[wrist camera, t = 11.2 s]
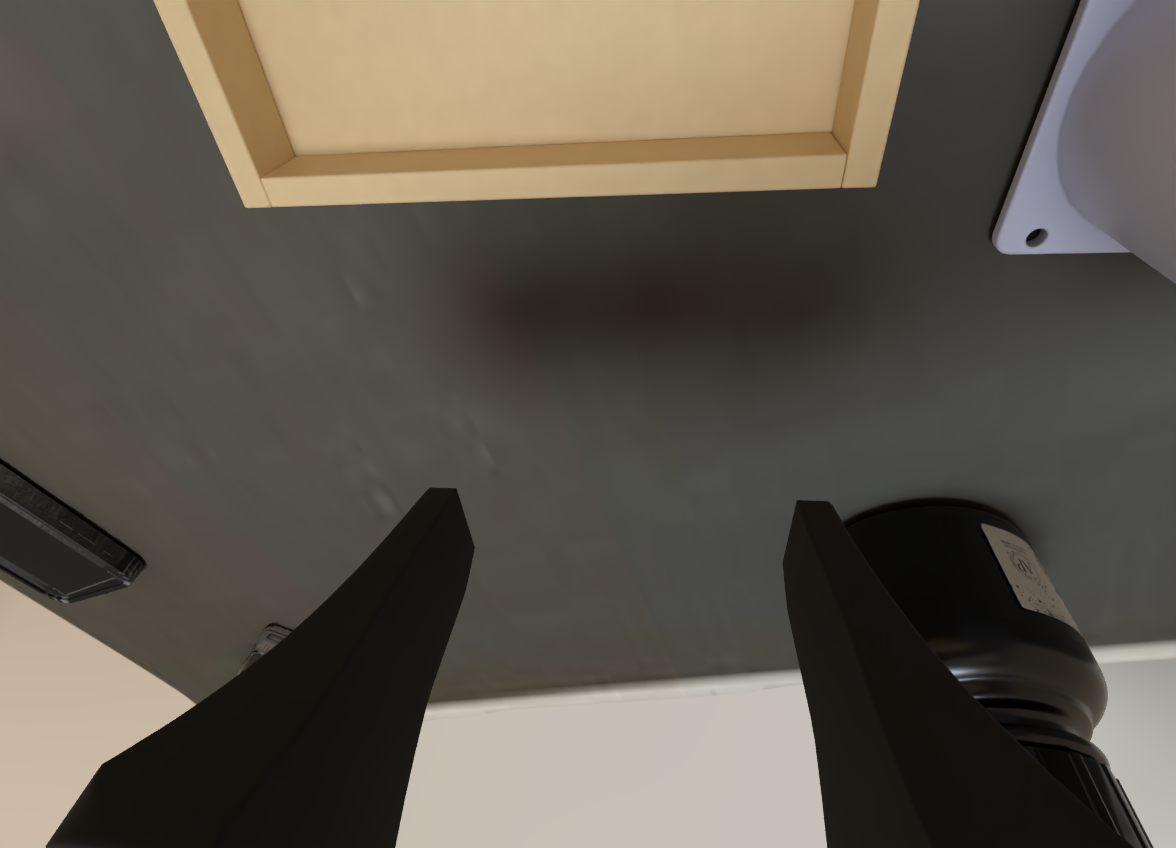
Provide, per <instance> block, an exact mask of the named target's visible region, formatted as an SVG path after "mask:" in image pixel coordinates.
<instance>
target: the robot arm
mask: <svg viewBox="0 0 1176 848" xmlns="http://www.w3.org/2000/svg"><path fill="white" fill-rule="evenodd" d="M1040 228H1041V232H1040V234H1039V235H1038V236H1037V237H1036V238H1034V239H1033V240H1030V241H1026V238H1027V236H1028V235H1029V233H1031V232H1032V231H1034V230H1036V229H1040ZM992 243H993V245H994V246H995V247H996V248H997V249H998V250H999V251H1000V252H1001V253H1003V254H1009V255H1014V254H1068V253H1123V252H1132V253H1133V254H1135V255H1136V256H1137V257H1139V258H1140V259H1141V260H1143V261H1144V262H1146V263H1147V264H1148V265H1150V266H1151V267H1152V268H1154V269H1155V270H1157V271H1158V272H1159V273H1161V274H1162V275H1164V276H1165V277H1166V278H1168V279H1169V280H1170V281H1172V282H1173V283H1175V284H1176V0H1081V1H1080V4H1079V7H1078V9H1077V12H1076V14H1075V17H1074V20H1073V22H1072V25H1071V28H1070V30H1069V33H1068V36H1067V38H1066V41H1065V44H1064V46H1063V49H1062V52H1061V54H1060V57H1059V59H1058V62H1057V65H1056V67H1055V70H1054V73H1053V75H1052V78H1051V81H1050V83H1049V86H1048V89H1047V91H1046V94H1045V97H1044V99H1043V102H1042V104H1041V107H1040V110H1039V112H1038V115H1037V118H1036V120H1035V123H1034V126H1033V128H1032V131H1031V134H1030V136H1029V139H1028V142H1027V144H1026V147H1025V149H1024V152H1023V155H1022V157H1021V160H1020V163H1019V165H1018V168H1017V171H1016V173H1015V176H1014V179H1013V181H1012V184H1011V186H1010V189H1009V192H1008V194H1007V197H1006V200H1005V202H1004V205H1003V208H1002V210H1001V213H1000V216H999V218H998V221H997V224H996V226H995V229H994V231H993V235H992ZM474 548H475V547H474V544H473V541H472V537H471V534H470V531H469V528H468V524H467V521H466V518H465V515H464V512H463V508H462V505H461V502H460V499H459V495H458V492H457V489H456V488H429V489H428V490H427V491H426V492H425V493H424V494H423V496H422V497H421V498H420V499H419V500H418V501H417V502H416V504H415V505H414V506H413V507H412V508H411V509H410V511H409V512H408V513H407V514H406V515H405V516H404V518H403V519H402V520H401V521H400V522H399V523H398V525H397V526H396V527H395V528H394V529H393V530H392V531H391V533H390V534H389V535H388V536H387V537H386V538H385V539H384V540H383V542H382V543H381V544H380V545H379V546H378V547H377V548H376V549H375V550H374V551H373V553H372V554H371V555H370V556H369V557H368V558H367V559H366V560H365V561H364V562H363V563H362V565H361V566H360V567H359V568H358V569H357V570H356V571H355V572H354V573H353V574H352V575H351V576H350V577H349V578H348V579H347V580H346V581H345V582H344V583H343V584H342V585H341V586H340V587H339V588H338V589H337V590H336V591H335V592H334V593H333V594H332V595H331V596H330V597H329V598H328V599H327V600H326V601H325V602H324V603H323V604H322V605H321V606H320V607H319V608H318V609H317V610H315V611H314V612H313V613H312V614H311V615H310V616H309V617H308V618H307V619H306V620H305V621H303V622H302V623H301V624H300V625H299V626H298V627H297V628H295V629H294V630H293V631H292V632H291V633H290V634H289V635H287V636H286V637H285V638H284V639H283V640H282V641H280V642H279V643H278V644H277V645H275V646H274V647H273V648H272V649H271V650H269V651H268V652H267V653H266V654H264V655H263V656H262V657H261V658H259V659H258V660H257V661H255V662H254V663H253V664H252V665H250V666H249V667H248V668H246V669H245V670H244V671H243V672H241V673H240V674H239V675H238V676H236V677H235V678H234V679H232V680H231V681H229V682H228V683H227V684H225V685H224V686H222V687H221V688H220V689H218V690H217V691H215V692H214V693H213V694H211V695H210V696H208V697H207V698H206V699H204V700H203V701H201V702H200V703H198V704H197V705H195V706H194V707H193V708H191V709H190V710H188V711H187V712H185V713H184V714H182V715H181V716H179V717H178V718H176V719H175V720H173V721H172V722H170V723H169V724H167V725H165V726H164V727H162V728H161V729H160V730H158V731H156V732H154V733H153V734H151V735H149V736H148V737H146V738H145V739H143V740H141V741H140V742H138V743H136V744H135V745H133V746H132V747H130V748H128V749H127V750H125V751H124V752H122V753H120V754H119V755H117V756H115V757H114V758H112V759H110V760H109V761H107V762H105V763H103V764H102V765H101V767H100V768H99V770H98V771H97V772H96V774H95V775H94V776H93V778H92V779H91V781H90V782H89V784H88V785H87V787H86V788H85V790H84V791H83V792H82V794H81V795H80V797H79V798H78V800H77V801H76V803H75V805H74V806H73V807H72V809H71V810H70V811H69V813H68V814H67V816H66V817H65V819H64V820H63V822H62V823H61V825H60V826H59V827H58V829H57V830H56V832H55V833H54V835H53V836H52V838H51V839H50V841H49V842H48V844H47V845H46V848H395V846H396V840H397V836H398V830H399V826H400V820H401V816H402V811H403V805H404V801H405V795H406V791H407V787H408V782H409V778H410V773H411V769H412V764H413V760H414V755H415V750H416V747H417V743H418V738H419V734H420V730H421V726H422V722H423V718H424V714H425V710H426V706H427V703H428V699H429V696H430V693H431V690H432V686H433V683H434V680H435V678H436V675H437V672H438V669H439V666H440V663H441V660H442V658H443V655H444V652H445V649H446V646H447V643H448V640H449V638H450V635H451V632H452V629H453V626H454V623H455V620H456V617H457V615H458V612H459V609H460V606H461V603H462V600H463V597H464V594H465V591H466V586H467V582H468V578H469V573H470V568H471V563H472V558H473V553H474ZM783 570H784V581H785V592H786V601H787V610H788V615H789V620H790V624H791V629H792V634H793V638H794V643H795V648H796V652H797V657H798V661H799V666H800V670H801V675H802V679H803V684H804V688H805V693H806V697H807V702H808V707H809V711H810V716H811V721H812V727H813V732H814V738H815V744H816V753H817V761H818V769H819V778H820V786H821V794H822V802H823V812H824V821H825V831H826V840H827V848H1135V847H1133V846H1132V845H1131V844H1130V843H1128V842H1127V841H1126V840H1125V839H1124V838H1122V837H1121V836H1120V835H1119V834H1118V833H1116V832H1115V831H1114V830H1113V829H1112V828H1111V827H1109V826H1108V825H1107V824H1106V823H1105V822H1104V821H1103V820H1101V819H1100V818H1099V817H1098V816H1097V815H1096V814H1094V813H1093V812H1092V811H1091V810H1090V809H1089V808H1088V807H1087V806H1085V805H1084V804H1083V803H1082V802H1081V801H1080V800H1079V799H1078V798H1077V797H1076V796H1074V795H1073V794H1072V793H1071V792H1070V791H1069V790H1068V789H1067V788H1066V787H1065V786H1063V785H1062V784H1061V783H1060V782H1059V781H1058V780H1057V779H1056V778H1055V777H1053V776H1052V775H1051V774H1050V773H1049V772H1048V771H1047V770H1046V769H1045V768H1044V767H1043V766H1042V765H1041V764H1040V763H1039V762H1038V761H1037V760H1036V759H1035V758H1034V757H1033V756H1032V755H1031V754H1030V753H1029V752H1028V751H1027V750H1026V749H1025V748H1024V747H1023V746H1022V745H1021V744H1020V743H1019V742H1017V741H1016V740H1015V739H1014V738H1013V737H1012V736H1011V735H1010V734H1009V733H1008V732H1007V731H1006V730H1005V729H1004V728H1003V727H1002V726H1001V725H1000V724H999V723H998V722H997V721H996V720H995V719H994V718H993V717H992V716H991V715H990V714H989V713H988V711H987V710H986V709H985V708H984V707H983V706H982V705H981V704H980V703H979V702H978V701H977V700H976V699H975V698H974V697H973V695H972V694H971V693H970V692H969V691H968V690H967V689H966V688H965V687H964V686H963V685H962V683H961V682H960V681H959V680H958V679H957V678H956V677H955V676H954V674H953V673H952V672H951V671H950V670H949V669H948V668H947V666H946V665H945V664H944V663H943V662H942V661H941V659H940V658H939V657H938V656H937V655H936V653H935V652H934V651H933V650H932V649H931V647H930V646H929V645H928V644H927V643H926V641H925V640H924V639H923V638H922V636H921V635H920V634H919V632H918V631H917V630H916V629H915V627H914V626H913V625H912V624H911V622H910V621H909V620H908V618H907V617H906V616H905V614H904V613H903V612H902V610H901V609H900V608H899V606H898V605H897V604H896V602H895V601H894V600H893V598H892V597H891V595H890V594H889V593H888V591H887V590H886V588H885V587H884V585H883V584H882V583H881V581H880V580H879V578H878V577H877V576H876V574H875V573H874V571H873V570H872V568H871V567H870V565H869V564H868V562H867V561H866V559H865V558H864V556H863V555H862V553H861V552H860V550H859V548H858V547H857V545H856V544H855V542H854V541H853V539H852V537H851V536H850V534H849V533H848V531H847V529H846V528H845V526H844V524H843V523H842V521H841V519H840V517H839V516H838V514H837V512H836V510H835V509H834V507H833V505H832V504H831V503H829V502H828V501H802V500H797V502H796V507H795V511H794V515H793V520H792V524H791V529H790V533H789V537H788V542H787V546H786V551H785V555H784V559H783Z"/></svg>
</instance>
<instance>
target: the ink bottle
mask: <svg viewBox="0 0 1176 848" xmlns="http://www.w3.org/2000/svg"><path fill="white" fill-rule="evenodd" d="M846 529H847V531H848V533H849V534H850V536H851V537H852V539H853V541H854V542H855V544H856V545H857V547H858V548H859V550H860V552H861V553H862V555H863V556H864V558H865V559H866V561H867V562H868V564H869V565H870V567H871V568H872V570H873V571H874V573H875V574H876V576H877V577H878V578H879V580H880V581H881V583H882V584H883V585H884V587H885V588H886V590H887V591H888V593H889V594H890V595H891V597H892V598H893V600H894V601H895V602H896V604H897V605H898V606H899V608H900V609H901V610H902V612H903V613H904V614H905V616H906V617H907V618H908V620H909V621H910V622H911V624H912V625H913V626H914V627H915V629H916V630H917V631H918V632H919V634H920V635H921V636H922V638H923V639H924V640H925V641H926V643H927V644H928V645H929V646H930V647H931V649H932V650H933V651H934V652H935V653H936V655H937V656H938V657H939V658H940V659H941V661H942V662H943V663H944V664H945V665H946V666H947V668H948V669H949V670H950V671H951V672H952V673H953V674H954V676H955V677H956V678H957V679H958V680H959V681H960V682H961V683H962V685H963V686H964V687H965V688H966V689H967V690H968V691H969V692H970V693H971V694H972V695H973V697H974V698H975V699H976V700H977V701H978V702H979V703H980V704H981V705H982V706H983V707H984V708H985V709H986V710H987V711H988V713H989V714H990V715H991V716H992V717H993V718H994V719H995V720H996V721H997V722H998V723H999V724H1000V725H1001V726H1002V727H1003V728H1004V729H1005V730H1006V731H1007V732H1008V733H1009V734H1010V735H1011V736H1012V737H1013V738H1014V739H1015V740H1016V741H1017V742H1019V743H1020V744H1021V745H1022V746H1023V747H1024V748H1025V749H1026V750H1027V751H1028V752H1029V753H1030V754H1031V755H1032V756H1033V757H1034V758H1035V759H1036V760H1037V761H1038V762H1039V763H1040V764H1041V765H1042V766H1043V767H1044V768H1045V769H1046V770H1047V771H1048V772H1049V773H1050V774H1051V775H1052V776H1053V777H1055V778H1056V779H1057V780H1058V781H1059V782H1060V783H1061V784H1062V785H1063V786H1065V787H1066V788H1067V789H1068V790H1069V791H1070V792H1071V793H1072V794H1073V795H1074V796H1076V797H1077V798H1078V799H1079V800H1080V801H1081V802H1082V803H1083V804H1084V805H1085V806H1087V807H1088V808H1089V809H1090V810H1091V811H1092V812H1093V813H1094V814H1096V815H1097V816H1098V817H1099V818H1100V819H1101V820H1103V821H1104V822H1105V823H1106V824H1107V825H1108V826H1109V827H1111V828H1112V829H1113V830H1114V831H1115V832H1116V833H1118V834H1119V835H1120V836H1121V837H1122V838H1124V839H1125V840H1126V841H1127V842H1128V843H1130V844H1131V845H1132V846H1133V847H1135V848H1154V847H1153V845H1152V844H1151V842H1150V840H1149V838H1148V836H1147V834H1146V832H1145V830H1144V828H1143V826H1142V824H1141V822H1140V820H1139V818H1138V817H1137V814H1136V813H1135V811H1134V809H1133V807H1132V805H1131V803H1130V801H1129V799H1128V797H1127V795H1126V793H1125V791H1124V789H1123V788H1122V785H1121V784H1120V781H1119V780H1118V779H1116V778H1115V776H1114V775H1113V774H1112V772H1111V769H1110V765H1109V762H1108V760H1107V758H1106V756H1105V755H1104V754H1103V752H1102V751H1101V750H1100V749H1099V748H1098V747H1097V746H1095V745H1094V744H1093V743H1091V742H1090V740H1091V738H1092V734H1093V729H1094V728H1095V727H1096V726H1097V725H1098V723H1099V722H1100V720H1101V719H1102V717H1103V715H1104V712H1105V709H1106V706H1107V699H1108V692H1107V685H1106V681H1105V678H1104V676H1103V673H1102V671H1101V669H1100V667H1099V665H1098V663H1097V661H1096V660H1095V658H1094V656H1093V654H1092V653H1091V651H1090V649H1089V647H1088V646H1087V644H1086V642H1085V640H1084V638H1083V636H1082V635H1081V633H1080V631H1079V629H1078V628H1077V626H1076V624H1075V622H1074V621H1073V619H1072V617H1071V615H1070V613H1069V612H1068V610H1067V608H1066V606H1065V605H1064V603H1063V601H1062V599H1061V598H1060V596H1059V594H1058V592H1057V591H1056V589H1055V587H1054V585H1053V584H1052V582H1051V580H1050V578H1049V577H1048V575H1047V573H1046V571H1045V570H1044V568H1043V566H1042V564H1041V563H1040V561H1039V559H1038V557H1037V555H1036V554H1035V552H1034V551H1033V549H1032V547H1031V545H1030V544H1029V542H1028V541H1027V539H1026V538H1025V536H1024V535H1023V534H1022V533H1021V532H1020V530H1019V529H1018V528H1016V527H1015V526H1014V525H1013V524H1012V523H1010V522H1009V521H1007V520H1005V519H1004V518H1002V517H1000V516H997V515H995V514H992V513H989V512H986V511H982V510H978V509H973V508H967V507H958V506H921V507H912V508H905V509H899V510H894V511H889V512H885V513H881V514H878V515H874V516H871V517H868V518H866V519H863V520H861V521H858V522H856V523H854V524H852V525H850V526H848V527H847V528H846Z"/></svg>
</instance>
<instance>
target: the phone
mask: <svg viewBox="0 0 1176 848" xmlns="http://www.w3.org/2000/svg"><path fill="white" fill-rule="evenodd" d="M0 570H2V571H4V572H6V573H7V574H9V575H11V576H12V577H14V578H16V579H17V580H19V581H21V582H23V583H24V584H26V585H28V586H29V587H31V588H33V589H34V590H36V591H38V592H40V593H41V594H43V595H45V596H47V597H49V598H50V599H53V600H56V601H59V602H63V603H74V602H78V601H81V600H85V599H88V598H91V597H95V596H98V595H102V594H105V593H109V592H112V591H116V590H119V589H123V588H126V587H128V586H130V585H131V583H132V582H133V581H134V580H135V578H136V577H137V576H138V575H139V574H140V572H141V571H142V570H143V564H142V562H141V561H140V560H139V559H138V558H137V557H135V556H134V555H133V554H131V553H130V552H128V551H127V550H125V549H124V548H123V547H121V546H120V545H118V544H117V543H115V542H114V541H112V540H111V539H109V538H108V537H107V536H105V535H104V534H102V533H101V532H99V531H98V530H96V529H95V528H93V527H92V526H91V525H89V524H88V523H86V522H85V521H83V520H82V519H80V518H79V517H77V516H76V515H75V514H73V513H72V512H70V511H69V510H67V509H66V508H64V507H63V506H61V505H60V504H59V503H57V502H56V501H54V500H53V499H51V498H50V497H48V496H47V495H45V494H44V493H43V492H41V491H40V490H38V489H37V488H35V487H34V486H32V485H31V484H29V483H28V482H26V481H25V480H24V479H22V478H21V477H19V476H18V475H16V474H15V473H13V472H12V471H10V470H9V469H8V468H6V467H5V466H3V465H2V464H0Z"/></svg>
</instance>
